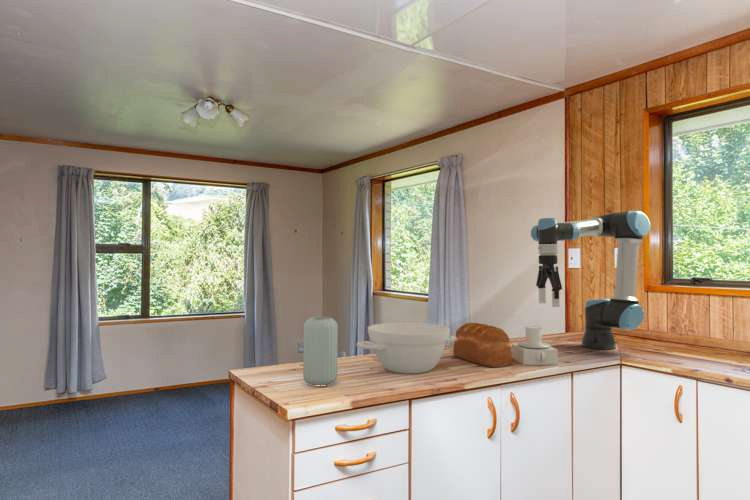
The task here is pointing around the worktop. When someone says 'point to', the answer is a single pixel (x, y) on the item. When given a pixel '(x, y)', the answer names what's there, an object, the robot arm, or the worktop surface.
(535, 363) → the kitchen scale
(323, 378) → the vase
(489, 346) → the bread
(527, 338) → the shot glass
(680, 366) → the worktop surface
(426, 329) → the pot
